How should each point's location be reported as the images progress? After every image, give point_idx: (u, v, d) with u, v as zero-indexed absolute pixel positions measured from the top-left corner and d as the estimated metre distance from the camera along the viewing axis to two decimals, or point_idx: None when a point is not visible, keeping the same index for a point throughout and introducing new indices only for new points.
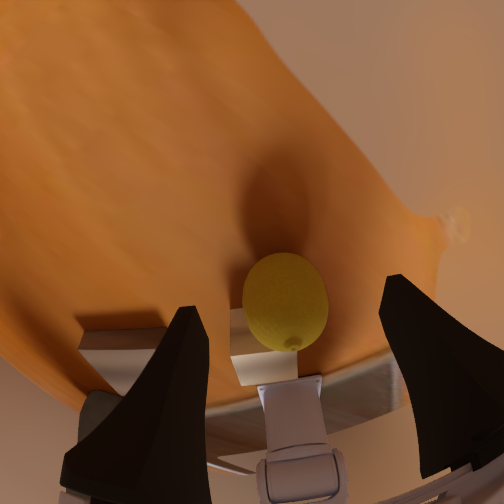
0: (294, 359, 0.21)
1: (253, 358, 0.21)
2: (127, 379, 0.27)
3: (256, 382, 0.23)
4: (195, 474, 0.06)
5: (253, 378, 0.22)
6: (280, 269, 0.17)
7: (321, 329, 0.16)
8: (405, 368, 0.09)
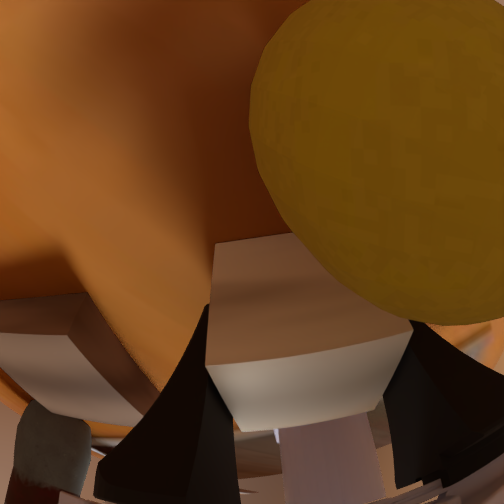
0: (392, 365, 0.07)
1: (279, 370, 0.06)
2: (44, 389, 0.13)
3: (278, 425, 0.09)
4: (228, 474, 0.06)
5: (273, 418, 0.08)
6: None
7: None
8: None
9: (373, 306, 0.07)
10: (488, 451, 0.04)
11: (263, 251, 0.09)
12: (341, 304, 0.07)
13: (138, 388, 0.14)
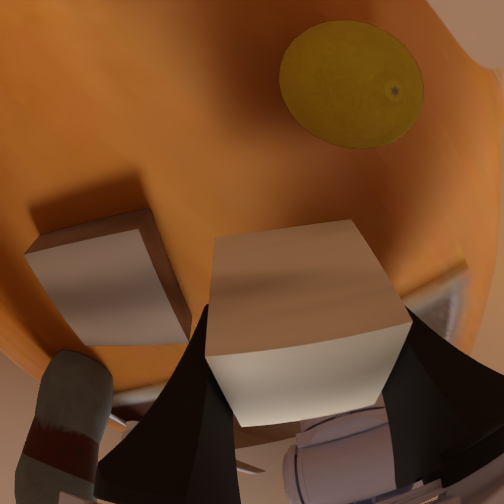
0: (392, 358, 0.07)
1: (279, 362, 0.06)
2: (89, 308, 0.18)
3: (277, 419, 0.09)
4: (228, 474, 0.06)
5: (272, 412, 0.08)
6: None
7: (422, 93, 0.07)
8: None
9: (372, 298, 0.07)
10: (488, 451, 0.04)
11: (263, 245, 0.09)
12: (340, 296, 0.07)
13: (177, 298, 0.20)
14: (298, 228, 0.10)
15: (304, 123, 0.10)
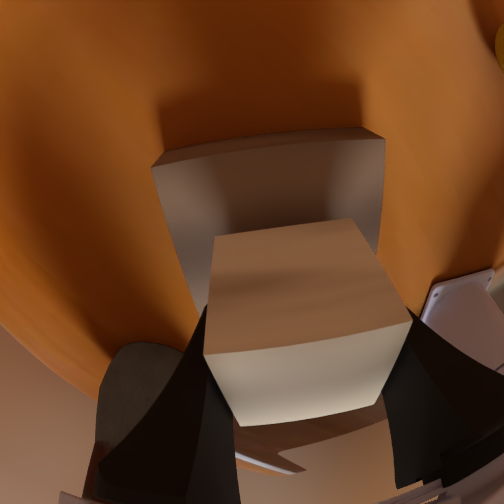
0: (392, 357, 0.07)
1: (277, 361, 0.06)
2: None
3: (276, 419, 0.09)
4: (228, 474, 0.06)
5: (271, 411, 0.08)
6: None
7: None
8: None
9: (372, 296, 0.07)
10: (488, 451, 0.04)
11: (263, 243, 0.09)
12: (340, 295, 0.07)
13: None
14: (298, 227, 0.10)
15: None
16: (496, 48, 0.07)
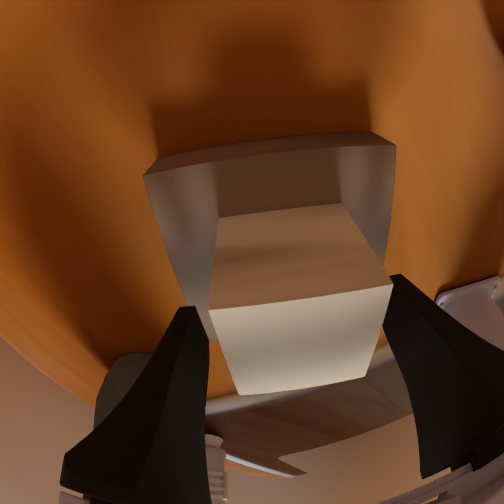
0: (378, 322, 0.08)
1: (274, 318, 0.07)
2: None
3: (273, 387, 0.10)
4: (195, 474, 0.06)
5: (268, 378, 0.09)
6: None
7: None
8: (405, 368, 0.09)
9: (357, 264, 0.08)
10: None
11: (261, 222, 0.11)
12: (328, 262, 0.08)
13: None
14: (293, 210, 0.11)
15: None
16: None
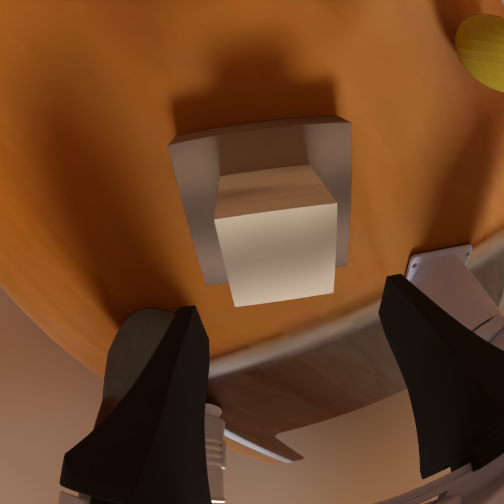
0: (332, 235, 0.12)
1: (257, 226, 0.12)
2: None
3: (261, 297, 0.14)
4: (195, 474, 0.06)
5: (256, 286, 0.13)
6: (493, 16, 0.07)
7: None
8: (405, 368, 0.09)
9: (313, 194, 0.12)
10: None
11: (250, 177, 0.15)
12: (294, 194, 0.12)
13: None
14: (273, 169, 0.15)
15: (488, 68, 0.09)
16: (455, 44, 0.11)
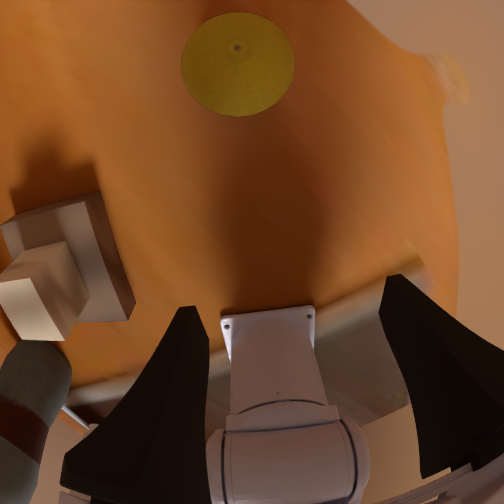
0: (38, 299, 0.14)
1: (5, 290, 0.13)
2: None
3: (29, 335, 0.15)
4: (195, 474, 0.06)
5: (23, 327, 0.15)
6: None
7: (283, 52, 0.09)
8: (405, 368, 0.09)
9: (30, 270, 0.14)
10: None
11: (31, 252, 0.16)
12: (25, 269, 0.14)
13: (118, 276, 0.20)
14: (46, 245, 0.17)
15: (194, 97, 0.12)
16: None
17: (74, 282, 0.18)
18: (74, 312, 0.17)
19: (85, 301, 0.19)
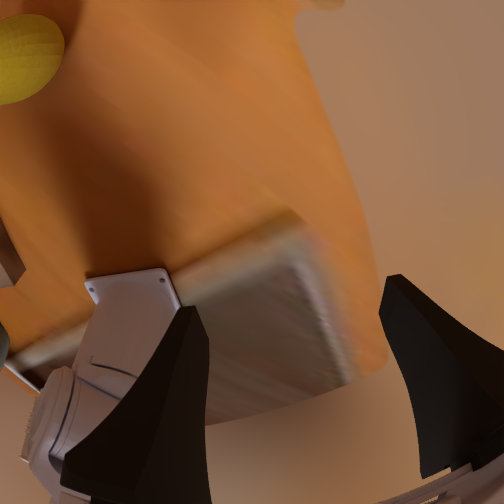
0: None
1: None
2: None
3: None
4: (195, 474, 0.06)
5: None
6: None
7: (6, 45, 0.06)
8: (405, 368, 0.09)
9: None
10: None
11: None
12: None
13: (4, 247, 0.18)
14: None
15: None
16: None
17: None
18: None
19: None
